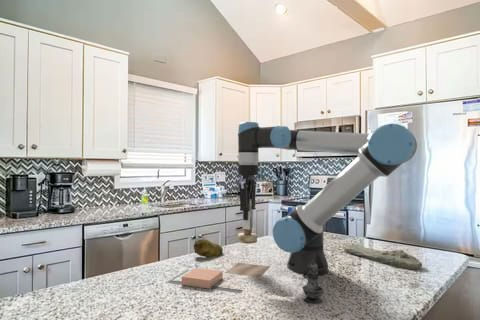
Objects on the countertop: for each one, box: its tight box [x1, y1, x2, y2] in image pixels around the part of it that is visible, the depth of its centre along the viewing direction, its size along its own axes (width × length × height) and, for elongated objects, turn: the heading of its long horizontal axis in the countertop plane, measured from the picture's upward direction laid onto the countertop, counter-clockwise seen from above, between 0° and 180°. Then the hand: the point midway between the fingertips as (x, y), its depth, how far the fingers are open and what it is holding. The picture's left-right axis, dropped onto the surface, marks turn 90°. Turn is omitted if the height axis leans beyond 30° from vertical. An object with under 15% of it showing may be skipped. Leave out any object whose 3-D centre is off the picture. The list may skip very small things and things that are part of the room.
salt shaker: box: [302, 259, 324, 305], centre depth 99 cm, size 6×6×12 cm
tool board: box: [225, 262, 271, 278], centre depth 125 cm, size 13×13×1 cm
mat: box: [166, 269, 244, 294], centre depth 113 cm, size 26×14×1 cm, turn 70°
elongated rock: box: [343, 244, 423, 270], centre depth 142 cm, size 35×5×10 cm
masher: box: [237, 199, 258, 245], centre depth 125 cm, size 7×7×16 cm
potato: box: [193, 238, 224, 259], centre depth 144 cm, size 8×13×8 cm, turn 105°
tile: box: [181, 267, 223, 290], centre depth 112 cm, size 10×3×10 cm
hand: (247, 227), depth 125 cm, fingers closed on masher, 3 cm apart
